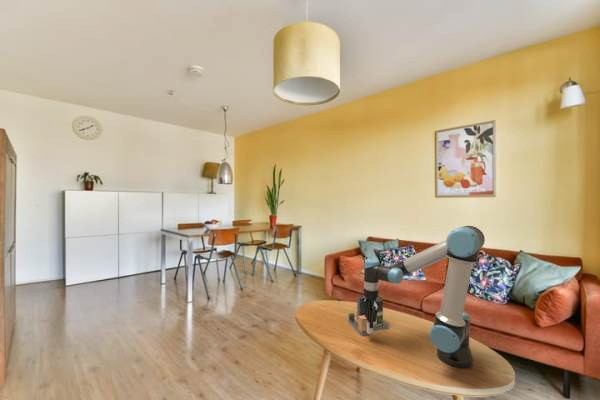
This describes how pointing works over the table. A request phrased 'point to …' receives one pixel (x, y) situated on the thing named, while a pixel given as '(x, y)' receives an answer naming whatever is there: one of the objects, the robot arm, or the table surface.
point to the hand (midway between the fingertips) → (369, 332)
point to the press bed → (361, 312)
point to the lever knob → (362, 323)
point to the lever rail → (355, 324)
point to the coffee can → (379, 312)
